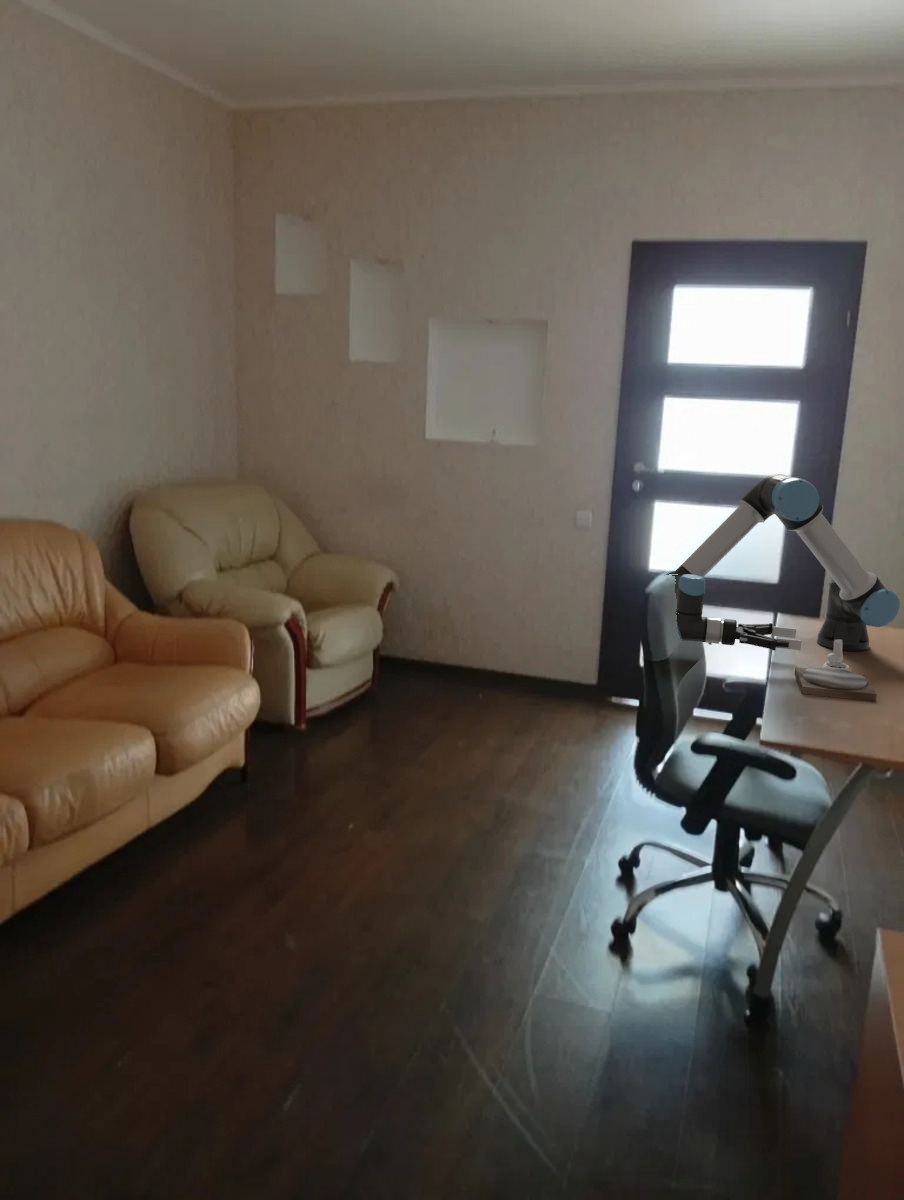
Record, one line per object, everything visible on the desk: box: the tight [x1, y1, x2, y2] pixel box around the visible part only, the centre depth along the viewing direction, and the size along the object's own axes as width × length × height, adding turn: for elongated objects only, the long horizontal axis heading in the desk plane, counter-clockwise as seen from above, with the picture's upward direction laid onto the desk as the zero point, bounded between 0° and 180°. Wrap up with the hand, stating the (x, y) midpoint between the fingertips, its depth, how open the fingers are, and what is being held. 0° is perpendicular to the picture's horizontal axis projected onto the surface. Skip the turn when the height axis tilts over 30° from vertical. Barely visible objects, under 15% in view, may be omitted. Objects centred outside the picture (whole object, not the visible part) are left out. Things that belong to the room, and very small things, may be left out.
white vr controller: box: [821, 639, 851, 671], centre depth 255 cm, size 8×12×7 cm
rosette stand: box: [794, 666, 878, 702], centre depth 242 cm, size 18×18×3 cm
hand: (798, 639), depth 259 cm, fingers open, 13 cm apart
